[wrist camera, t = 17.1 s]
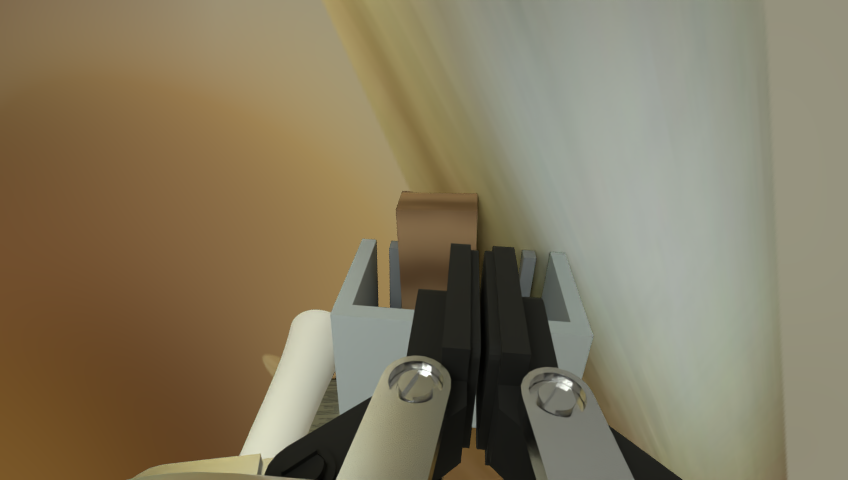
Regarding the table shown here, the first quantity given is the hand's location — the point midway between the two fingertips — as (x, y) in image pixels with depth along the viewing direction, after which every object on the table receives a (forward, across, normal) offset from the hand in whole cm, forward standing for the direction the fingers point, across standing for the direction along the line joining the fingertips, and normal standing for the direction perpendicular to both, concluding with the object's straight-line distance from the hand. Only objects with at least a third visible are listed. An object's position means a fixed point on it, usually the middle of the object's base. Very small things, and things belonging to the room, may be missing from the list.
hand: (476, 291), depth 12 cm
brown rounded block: (+23, +2, +13) cm, 27 cm away
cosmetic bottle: (+23, +13, +23) cm, 35 cm away
